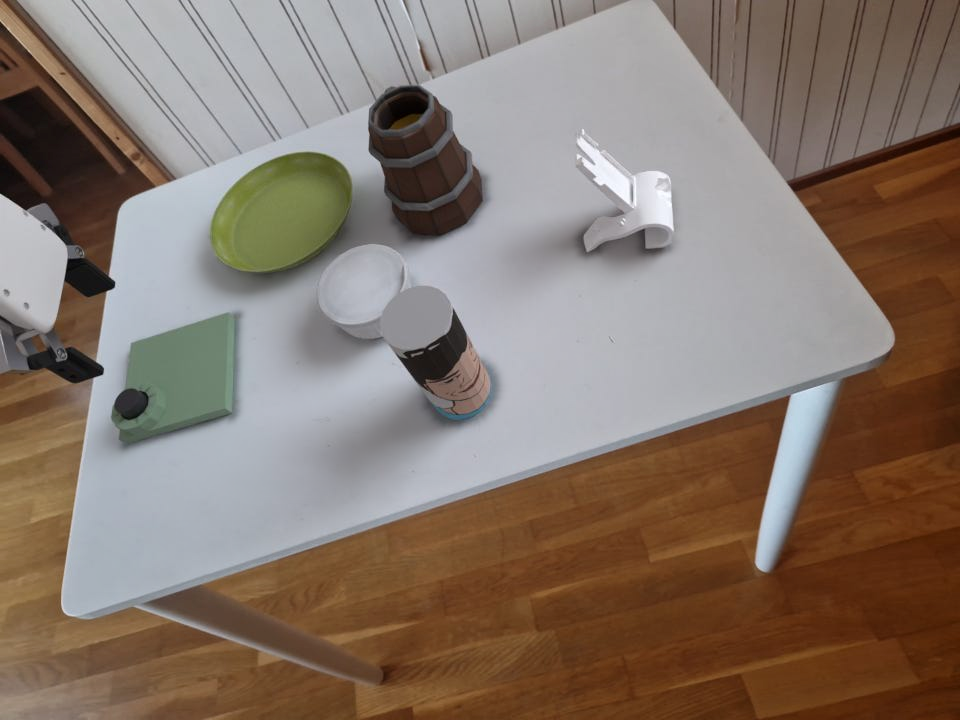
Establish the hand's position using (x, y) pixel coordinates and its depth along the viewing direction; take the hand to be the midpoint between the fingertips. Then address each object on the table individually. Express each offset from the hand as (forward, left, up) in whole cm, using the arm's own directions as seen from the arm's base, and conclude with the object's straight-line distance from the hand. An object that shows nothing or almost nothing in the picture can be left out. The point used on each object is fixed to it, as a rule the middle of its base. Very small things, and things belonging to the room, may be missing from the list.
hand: (96, 331), depth 61 cm
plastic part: (+44, -29, -20) cm, 56 cm away
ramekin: (+21, -8, -20) cm, 30 cm away
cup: (+17, -24, -20) cm, 36 cm away
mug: (+39, -3, -20) cm, 44 cm away
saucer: (+26, +13, -20) cm, 36 cm away
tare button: (-5, +9, -17) cm, 20 cm away
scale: (+1, +9, -20) cm, 22 cm away
